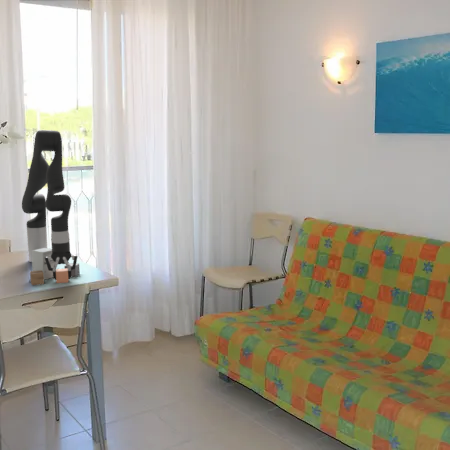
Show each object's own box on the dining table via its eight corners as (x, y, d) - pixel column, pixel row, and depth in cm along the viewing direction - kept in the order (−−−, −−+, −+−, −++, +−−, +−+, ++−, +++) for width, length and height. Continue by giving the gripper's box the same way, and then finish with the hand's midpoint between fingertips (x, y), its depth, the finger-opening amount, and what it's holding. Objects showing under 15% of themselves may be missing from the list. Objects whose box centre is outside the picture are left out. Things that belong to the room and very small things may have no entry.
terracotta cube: (56, 280, 266) (56, 269, 265) (68, 279, 267) (68, 268, 266) (56, 283, 261) (55, 271, 260) (68, 282, 262) (67, 271, 261)
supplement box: (43, 280, 266) (42, 252, 263) (32, 278, 269) (30, 250, 267) (56, 276, 272) (55, 249, 270) (45, 274, 276) (43, 247, 273)
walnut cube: (30, 282, 262) (29, 271, 261) (42, 281, 264) (42, 270, 263) (31, 285, 258) (31, 274, 257) (44, 284, 260) (43, 272, 259)
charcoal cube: (69, 273, 277) (68, 263, 276) (79, 274, 276) (79, 263, 276) (65, 276, 272) (64, 265, 271) (75, 276, 271) (75, 266, 271)
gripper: (77, 238, 266) (79, 276, 269) (43, 240, 263) (45, 278, 266) (77, 241, 259) (79, 280, 262) (42, 243, 256) (44, 282, 258)
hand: (62, 279), depth 264 cm, fingers closed on terracotta cube, 5 cm apart
